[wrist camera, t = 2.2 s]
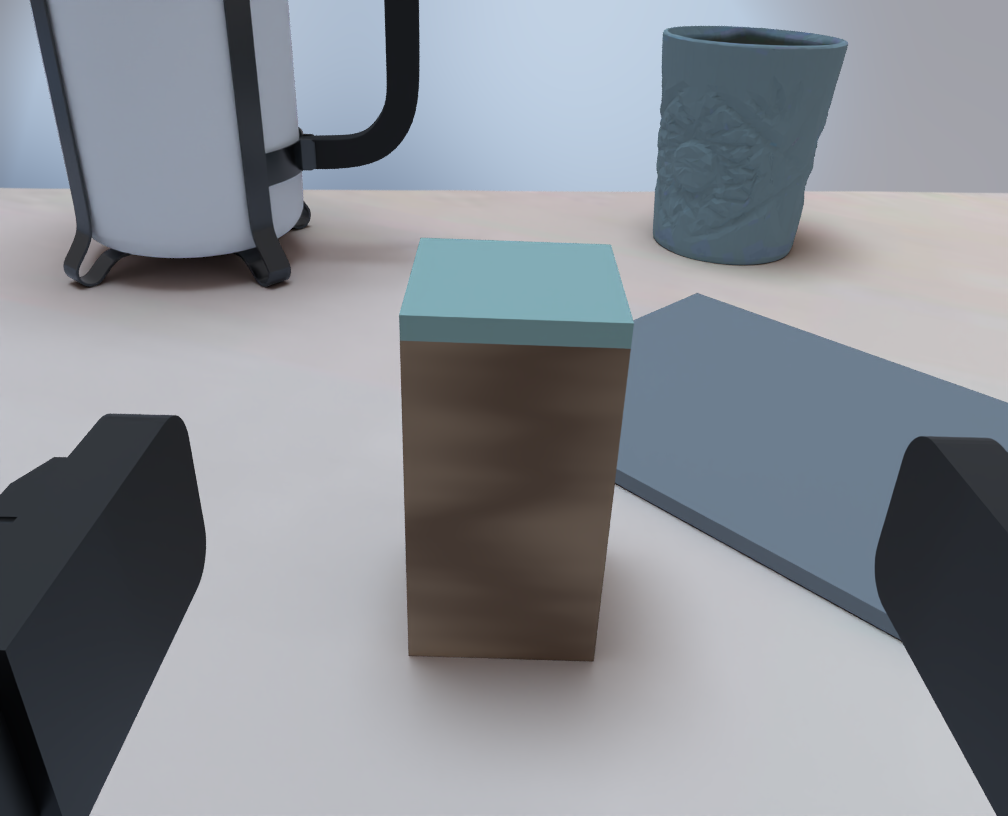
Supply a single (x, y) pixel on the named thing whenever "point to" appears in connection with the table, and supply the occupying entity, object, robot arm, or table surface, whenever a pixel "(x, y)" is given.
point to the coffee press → (197, 125)
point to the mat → (781, 440)
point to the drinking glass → (739, 138)
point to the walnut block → (510, 444)
